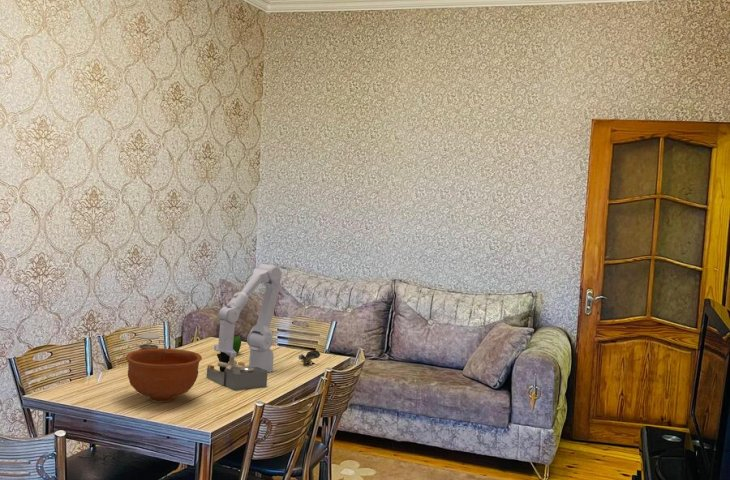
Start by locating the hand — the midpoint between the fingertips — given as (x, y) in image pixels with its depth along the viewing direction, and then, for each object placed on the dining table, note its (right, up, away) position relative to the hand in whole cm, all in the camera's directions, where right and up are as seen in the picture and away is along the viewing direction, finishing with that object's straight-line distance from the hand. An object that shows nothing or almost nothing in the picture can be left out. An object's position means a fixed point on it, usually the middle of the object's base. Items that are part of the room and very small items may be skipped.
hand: (223, 371), depth 280 cm
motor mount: (+7, -3, -7) cm, 10 cm away
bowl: (-14, -3, -38) cm, 40 cm away
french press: (-29, 0, -1) cm, 29 cm away
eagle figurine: (+31, -3, +32) cm, 45 cm away
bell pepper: (-5, 0, +40) cm, 41 cm away
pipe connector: (+3, -2, -3) cm, 5 cm away
